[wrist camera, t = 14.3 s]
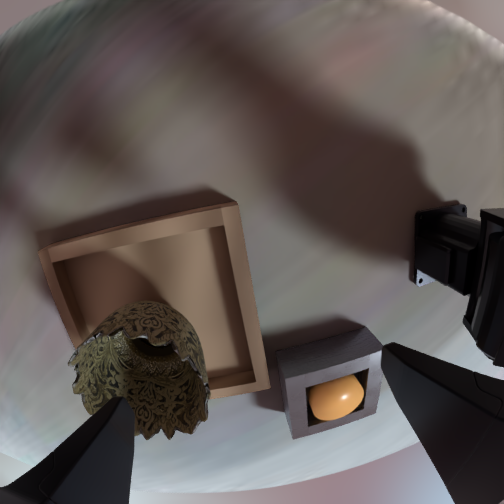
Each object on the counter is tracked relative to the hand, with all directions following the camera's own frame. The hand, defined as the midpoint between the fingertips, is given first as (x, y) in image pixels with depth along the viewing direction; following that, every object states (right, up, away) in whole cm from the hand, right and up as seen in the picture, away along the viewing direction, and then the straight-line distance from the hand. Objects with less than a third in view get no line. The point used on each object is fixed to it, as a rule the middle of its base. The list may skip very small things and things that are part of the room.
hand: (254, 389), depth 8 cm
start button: (+6, -7, +14) cm, 17 cm away
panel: (+6, -6, +15) cm, 17 cm away
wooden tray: (-7, 0, +11) cm, 13 cm away
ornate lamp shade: (-7, 0, +11) cm, 13 cm away
